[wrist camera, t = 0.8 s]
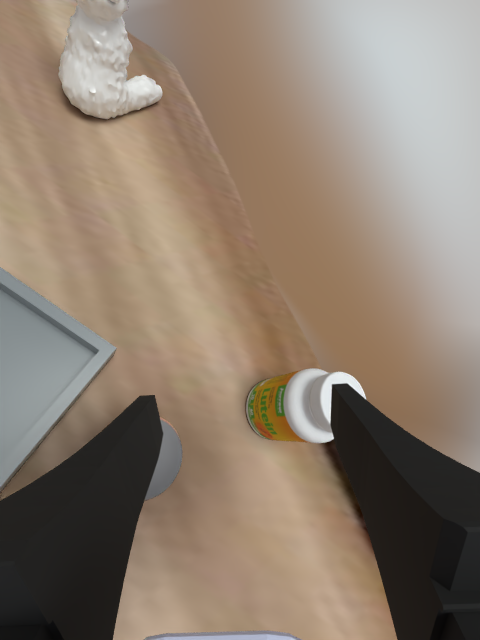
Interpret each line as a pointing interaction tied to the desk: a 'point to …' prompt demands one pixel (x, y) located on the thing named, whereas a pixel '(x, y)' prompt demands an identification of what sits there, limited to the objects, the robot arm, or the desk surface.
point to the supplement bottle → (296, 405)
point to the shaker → (166, 461)
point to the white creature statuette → (102, 62)
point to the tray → (39, 369)
